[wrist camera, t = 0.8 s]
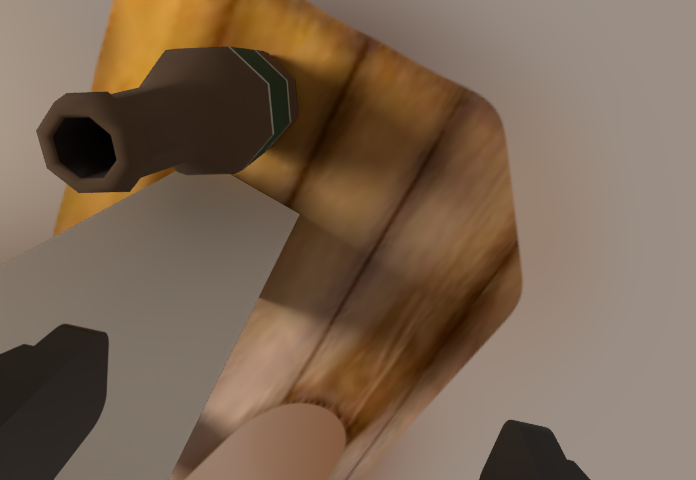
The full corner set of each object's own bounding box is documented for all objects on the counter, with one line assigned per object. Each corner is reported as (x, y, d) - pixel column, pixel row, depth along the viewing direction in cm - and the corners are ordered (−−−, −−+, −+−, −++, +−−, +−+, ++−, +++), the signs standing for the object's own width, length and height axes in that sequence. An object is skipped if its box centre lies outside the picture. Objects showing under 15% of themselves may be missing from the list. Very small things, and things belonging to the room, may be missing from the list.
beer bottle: (223, 33, 35) (-31, -21, 13) (314, 69, 36) (220, 77, 14) (201, 126, 38) (-39, 211, 16) (286, 158, 39) (169, 283, 17)
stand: (263, 315, 45) (47, 804, 15) (135, 247, 43) (-403, 659, 13) (326, 212, 41) (197, 616, 11) (187, 130, 38) (-445, 353, 9)
